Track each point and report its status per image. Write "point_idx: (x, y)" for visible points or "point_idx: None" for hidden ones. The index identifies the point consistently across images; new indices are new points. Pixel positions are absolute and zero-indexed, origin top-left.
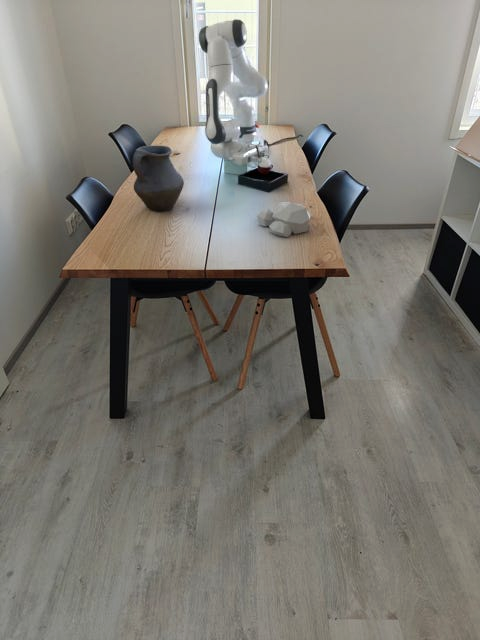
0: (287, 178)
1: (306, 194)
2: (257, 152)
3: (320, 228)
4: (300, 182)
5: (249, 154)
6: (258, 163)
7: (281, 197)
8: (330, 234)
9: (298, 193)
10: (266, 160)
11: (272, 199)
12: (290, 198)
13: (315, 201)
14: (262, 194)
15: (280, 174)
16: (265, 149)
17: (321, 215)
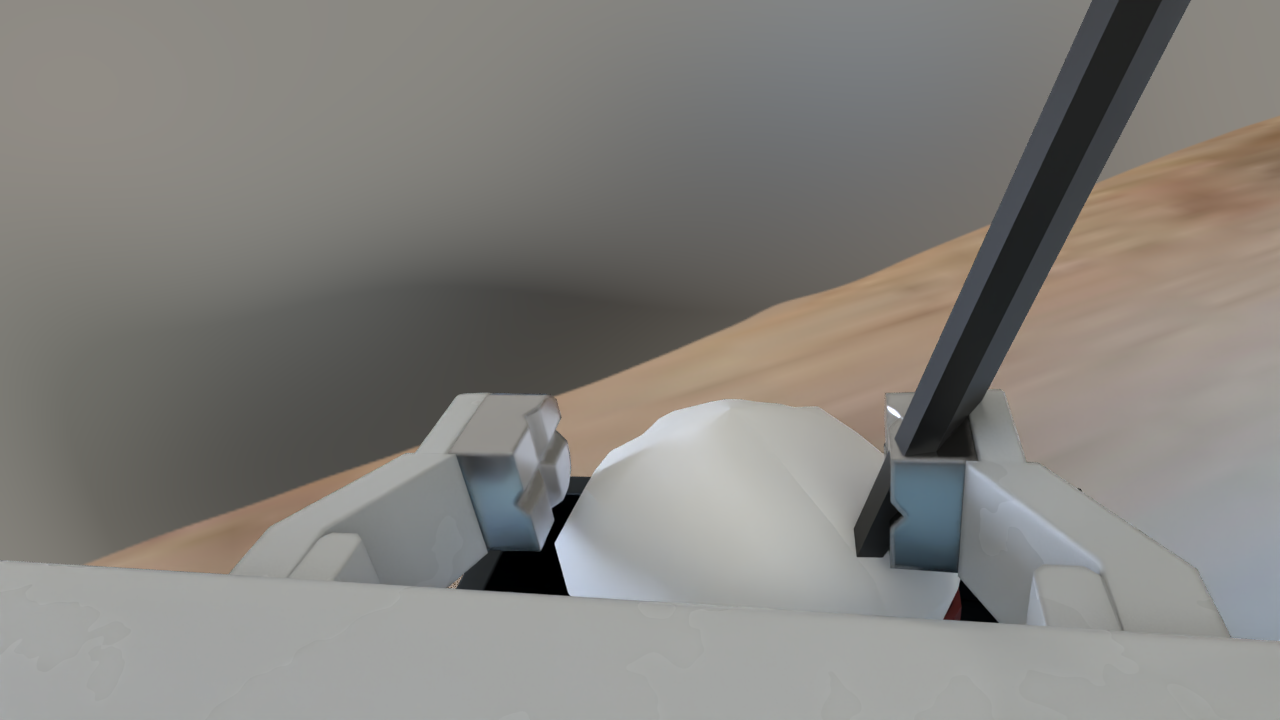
0: None
1: (798, 341)
2: (1053, 244)
3: (1270, 147)
4: None
5: (1234, 686)
6: (954, 575)
7: (1061, 434)
8: (1274, 119)
9: (820, 382)
10: (766, 404)
11: (1218, 470)
12: (1002, 377)
13: (897, 269)
14: None
15: (502, 583)
16: (10, 565)
17: (1094, 192)
